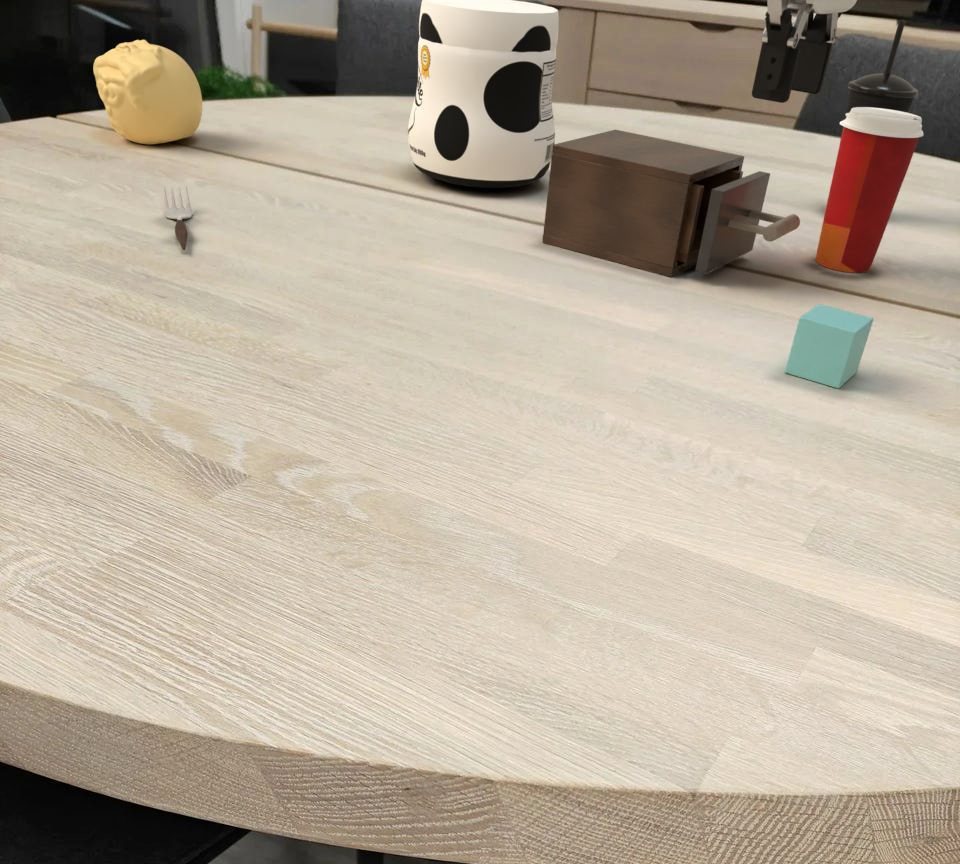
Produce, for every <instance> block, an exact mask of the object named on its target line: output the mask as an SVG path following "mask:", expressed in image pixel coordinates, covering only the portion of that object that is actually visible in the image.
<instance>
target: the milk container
mask: <svg viewBox="0 0 960 864" xmlns="http://www.w3.org/2000/svg"><path fill="white" fill-rule="evenodd" d="M420 3H421V4H420V10H419V11H420V12H419V20H418V31H419V32H418V33H419V39H418V43H417V83H416V90H415V96H414V99H413V102H412V108H411V111H410V115H409V119H408V127H407V140H408V141H407V142H408V149H409V156H410V158H411V161H412V164H413V165H414V167H415V168H416V169H417V170H418V171H420V172H421V173H423V174H425V175H426V176H428V177H431V178H432V179H435V180H438V181H441V182H445V183H447V184H451V185H459V186H463V187H471V188H480V189H508V188H517V187H523V186H526V185H530V184H533V183H536V182H539V180H541V179H542V178H543V177H544V176H545V175H546V174H547V172H548V170H549V168H550V167H551V159H552V154H553V153H552V149H553V145H554V144H556V128H555V118H554V112H553V86H554V77H555V70H556V69H555V68H556V62H557V47H558V41H559V33H560V32H559V29H560V28H559V27H560V26H559V25H560V22H559V21H560V16H559V10H558V8H555V7H552V6H549V5H545V4H539V3H534V2H529V1H523V0H421V2H420Z"/></svg>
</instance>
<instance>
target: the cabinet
mask: <svg viewBox="0 0 960 864" xmlns="http://www.w3.org/2000/svg"><path fill="white" fill-rule="evenodd" d="M552 153H553V154H552V159H551V162H550V167H549V168H550V169H549V178H548V188H547V195H546V205H545V215H544V224H543V232H542V233H543V234H542V241H541V242H542V243H544V244H547V245H551V246H555V247H559V248H561V249H565V250H570V251H573V252H577V253H580V254H584V255H588V256H592V257H595V258H599V259H603V260H607V261H610V262H614V263H617V264H621V265H625V266H629V267H633V268H636V269H639V270H640V269H641V270H643V271H647V272H651V273H655V274H658V275H663V276H666V277H670V278H673V277H674V276H676V275H679V274H680V273H682V272H685V271H686V270H688V269H690V268H692V267H695V266H696V265H697V260H698V257H697V258H695V259H693V260H691V261H689V262H687V263H684V262H680V261H677V260H678V254H679V249H680V244H681V239H682V233H683V228H684V223H685V218H686V212H687V207H688V202H689V197H690V191H691V186H692V183H693V182H696V181H698V180H701V179H704V178H707V177H710V176H712V175H715V174H718V173H721V172H724V171H726V170H729V169H734V170H738V171H742V169H743V165H744V161H745V156H744V155H741V154H737V153H736V154H735V153H731V152H725V151H721V150H716V149H712V148H706V147H701V146H697V145H692V144H689V143H682V142H677V141H673V140H668V139H663V138H660V137H659V138H658V137H654V136H648V135H644V134H639V133H635V132H629V131H624V130H619V129H612V130H608V131H604V132H600V133H599V132H598V133H595V134H591V135H588V136H583V137H579V138H575V139H571V140H566V141H562V142H558V143H555V144H554V145H553V149H552Z"/></svg>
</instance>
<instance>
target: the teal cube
mask: <svg viewBox="0 0 960 864" xmlns="http://www.w3.org/2000/svg"><path fill="white" fill-rule="evenodd" d="M873 322H874V317H871V316H868V315H864V314H859V313H856V312H851V311H848V310H845V309H842V308H841V309H840V308H837V307H833V306H829V305H825V304H822V303H818V304H816V305H815V306H814V307H813V308H811V309H809V310H808V311H806V312H805V313H804V314H803V315H801V316H799V318H798V321H797V326H796V328H795V333H794V337H793V340H792V343H791V348H790V351H789V355H788V358H787V362H786V366H785V370H784V373H785V374H788V375H792V376H795V377H797V378H798V377H799V378H802V379H806V380H808V381H812V382H815V383H818V384H822V385H825V386H829V387H832V388H836V389H841V387H842V386H844V384H845V383H847V382H848V381H849V380H850V379H851V378H852V377H853V376H854V375H855V374H857V372H858V370H859V367H860V363H861V360H862V357H863V354H864V350H865V347H866V345H867V341H868V338H869V334H870V332H871V330H872V325H873Z"/></svg>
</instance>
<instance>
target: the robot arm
mask: <svg viewBox="0 0 960 864" xmlns="http://www.w3.org/2000/svg"><path fill="white" fill-rule="evenodd" d="M766 1H767V3H766V4H767V11H766V12H765V18H764V20H765V26H764V29H763V32H762V36H761V47H760V50H759V51H760V52H759V57H758V61H757V66H756V71H755V75H754V79H753V85H752V90H751V96H752V97H753V98H754V99H759V100H763V101H768V102H775V103H781V104H784V103H787V102H789V100H790V96H791V93H792V91H794V92H800V93H805V94H812V95H817V94H820V93H821V92H822V88H823V86H824V85H823V84H824V81H825V76H826V73H827V69H828V65H829V61H830V56H831V53H832V50H833V49H832V48H833V45H834V44H833V43H834V41H835V38H836V36H837V29H838V20H839V18H841V17H842V13H844V12H848V11H849V10H851V9H852V8H853V7H854V6H855V5H856V3H857V1H858V0H766ZM792 17H793V18H794V21H793V18H792Z"/></svg>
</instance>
